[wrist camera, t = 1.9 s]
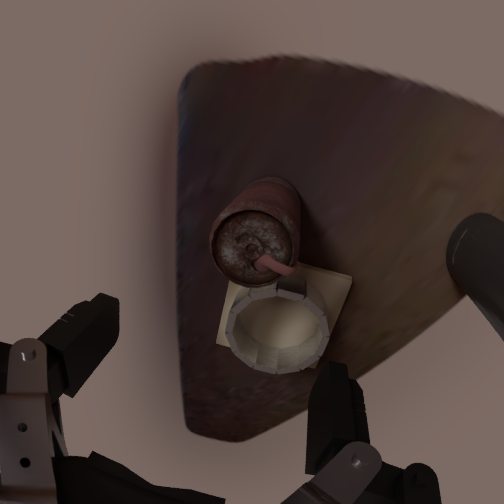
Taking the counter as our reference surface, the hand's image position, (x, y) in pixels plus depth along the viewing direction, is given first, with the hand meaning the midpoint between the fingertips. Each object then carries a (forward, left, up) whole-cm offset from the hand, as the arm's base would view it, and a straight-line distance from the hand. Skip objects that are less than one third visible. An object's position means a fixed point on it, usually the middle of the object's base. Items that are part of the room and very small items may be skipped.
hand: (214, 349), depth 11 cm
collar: (-4, +12, -23) cm, 26 cm away
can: (0, 0, -24) cm, 24 cm away
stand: (-4, +12, -24) cm, 27 cm away
